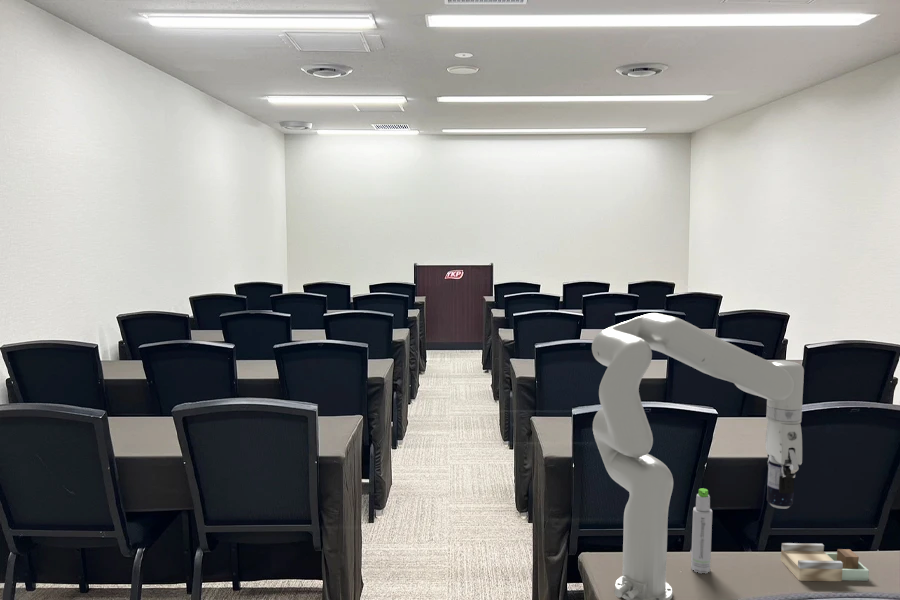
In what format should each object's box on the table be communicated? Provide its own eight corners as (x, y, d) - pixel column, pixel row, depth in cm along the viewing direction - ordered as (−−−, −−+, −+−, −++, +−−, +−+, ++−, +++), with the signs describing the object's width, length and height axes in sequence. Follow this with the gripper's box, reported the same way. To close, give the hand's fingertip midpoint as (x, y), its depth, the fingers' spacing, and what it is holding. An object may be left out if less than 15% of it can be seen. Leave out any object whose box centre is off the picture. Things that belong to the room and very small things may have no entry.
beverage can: (795, 511, 166) (798, 461, 164) (769, 509, 167) (772, 459, 166) (789, 501, 171) (791, 453, 170) (764, 499, 172) (766, 452, 171)
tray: (840, 580, 166) (841, 569, 166) (822, 562, 175) (822, 552, 174) (868, 580, 166) (868, 570, 165) (848, 562, 174) (849, 552, 174)
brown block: (845, 556, 168) (858, 557, 168) (837, 549, 172) (850, 549, 172) (844, 572, 168) (857, 573, 168) (836, 564, 172) (849, 565, 172)
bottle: (688, 570, 171) (691, 490, 169) (694, 563, 174) (697, 485, 172) (706, 575, 168) (710, 494, 166) (712, 568, 172) (715, 489, 170)
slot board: (799, 580, 166) (800, 562, 165) (780, 560, 176) (781, 543, 175) (841, 581, 165) (842, 562, 165) (821, 561, 175) (822, 543, 175)
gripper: (817, 424, 158) (813, 502, 160) (784, 404, 175) (780, 475, 177) (783, 424, 158) (779, 501, 160) (753, 404, 175) (750, 474, 177)
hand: (780, 487), depth 169 cm, fingers closed on beverage can, 5 cm apart
